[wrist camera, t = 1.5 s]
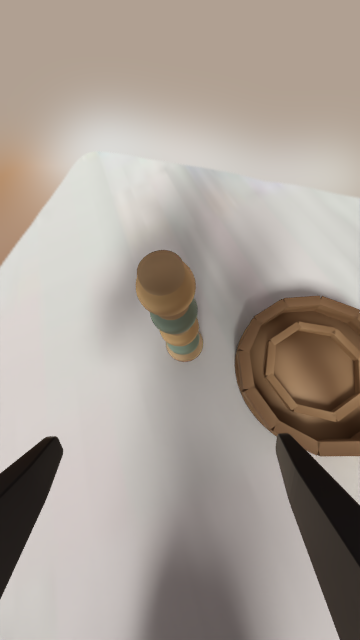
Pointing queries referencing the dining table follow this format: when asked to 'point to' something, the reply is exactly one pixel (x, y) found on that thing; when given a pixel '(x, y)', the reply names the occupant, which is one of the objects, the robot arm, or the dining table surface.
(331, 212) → the dining table surface
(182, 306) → the post
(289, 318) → the groove tray
